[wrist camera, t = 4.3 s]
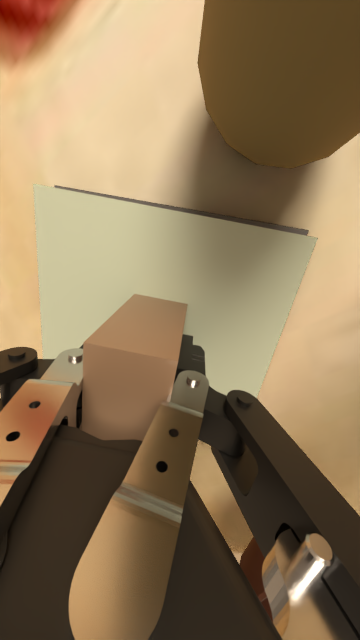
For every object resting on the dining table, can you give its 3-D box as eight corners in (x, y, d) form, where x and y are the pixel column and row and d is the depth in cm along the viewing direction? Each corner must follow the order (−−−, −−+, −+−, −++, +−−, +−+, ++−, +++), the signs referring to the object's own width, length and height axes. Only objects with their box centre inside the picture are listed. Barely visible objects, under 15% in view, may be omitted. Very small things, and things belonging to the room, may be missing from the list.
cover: (46, 187, 12) (-138, 133, 5) (308, 237, 12) (441, 243, 5) (54, 396, 17) (-36, 498, 11) (236, 433, 17) (259, 558, 10)
